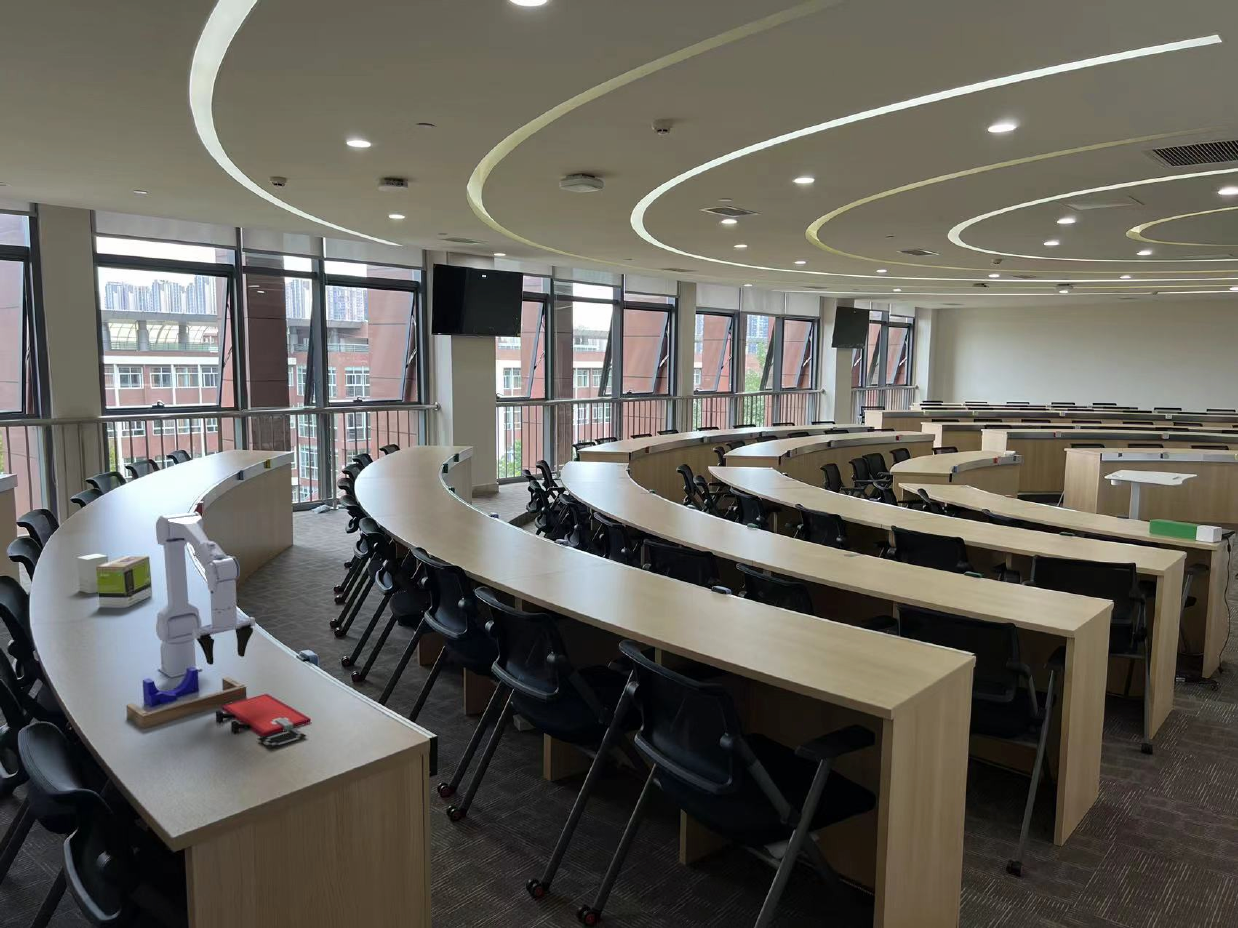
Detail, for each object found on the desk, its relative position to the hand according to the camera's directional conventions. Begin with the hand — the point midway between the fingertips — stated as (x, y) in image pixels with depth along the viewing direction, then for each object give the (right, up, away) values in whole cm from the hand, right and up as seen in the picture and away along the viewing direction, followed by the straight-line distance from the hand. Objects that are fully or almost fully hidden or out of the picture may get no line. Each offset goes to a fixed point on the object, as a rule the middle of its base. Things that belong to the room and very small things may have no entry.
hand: (225, 659), depth 208 cm
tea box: (-73, +1, +82) cm, 110 cm away
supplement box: (-93, +3, +96) cm, 134 cm away
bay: (-7, -11, -5) cm, 13 cm away
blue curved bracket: (-14, -10, +1) cm, 17 cm away
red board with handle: (+15, -13, -12) cm, 23 cm away
